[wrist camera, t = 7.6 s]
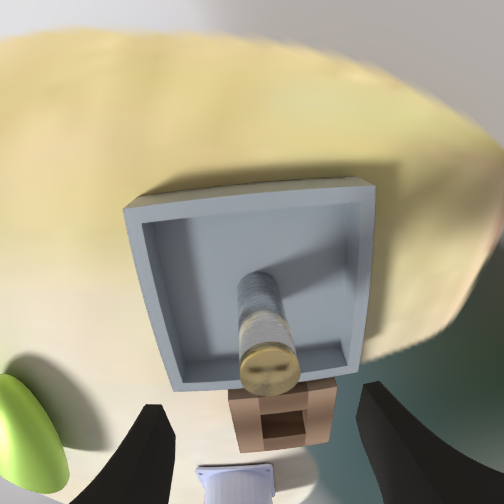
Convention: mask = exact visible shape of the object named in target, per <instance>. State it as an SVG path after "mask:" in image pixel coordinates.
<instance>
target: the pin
mask: <svg viewBox="0 0 504 504" xmlns="http://www.w3.org/2000/svg"><path fill="white" fill-rule="evenodd" d="M237 303H238V334H239V361H240V381H241V384H242V385H243V387H244V388H245V389H246V390H247V391H249V392H251V393H253V394H255V395H259V396H275V395H280V394H282V393H285V392H287V391H289V390H290V389H292V388H293V387H294V386H295V385H296V384H297V382H298V381H299V379H300V376H301V370H300V366H299V362H298V359H297V355H296V351H295V347H294V343H293V339H292V335H291V331H290V327H289V324H288V320H287V316H286V312H285V308H284V305H283V301H282V297H281V293H280V289H279V286H278V283H277V281H276V279H275V278H274V277H273V276H272V275H270V274H268V273H266V272H260V271H258V272H252V273H249V274H247V275H246V276H244V277H243V278H242V279H241V280H240V282H239V284H238V287H237Z"/></svg>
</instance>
